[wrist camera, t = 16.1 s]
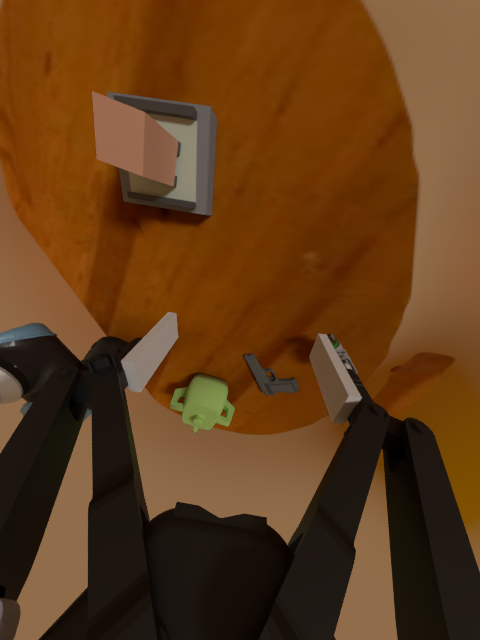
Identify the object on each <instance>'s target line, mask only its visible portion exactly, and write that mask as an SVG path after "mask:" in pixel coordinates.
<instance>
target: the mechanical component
mask: <svg viewBox="0 0 480 640" xmlns="http://www.w3.org/2000/svg"><path fill="white" fill-rule="evenodd" d="M330 335H331V336H329V335H327V336H328V338H329V340H330V342H331V343H332V345H333V347H334V349H335V351H336V352H337V354H338V356H339V358H340V360H341V361H342V363H343V365H344V367H345V368H348V369H351V370H353V371H354V372H355V373H356V374H357V373H358V372H357V370H356V368H355V367H354V365H353V363H352V362H351V359H350V357H349V356H348V354H347V352H346V351H345V349H343V347H342V345H341V344H340V342H339V341H338V339H337V338H334V336H333V335H332V334H330Z"/></svg>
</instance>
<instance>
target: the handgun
mask: <svg viewBox="0 0 480 640" xmlns="http://www.w3.org/2000/svg"><path fill="white" fill-rule="evenodd" d="M244 359H245V360H246V361H247V363H248V365H249V367H250V368H251V370H252V372H253V374H254V376H255V378H256V381H257V383H258V385H259V387H260V390H261V391H262V392H263V393H265V394H266V395H267V396H269V395H273V396H274V393H275V392H288V393H295V392H298V390H299V388H298V385H297V382H296V379H293V378H290V379H277V378H276V374H275V372H274V371H273V370H272V369H271V368H270V369H263V368H262V367H261V366H260V365H259V363H258V361H257V359H256V357H255V356H254V354H252V353H250V354H249V355H247V354H246V355H244ZM266 372H272V373H273V374H274V377H275V379H273V378H274V377H267V375H266ZM297 388H298V389H297Z"/></svg>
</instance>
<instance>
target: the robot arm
mask: <svg viewBox="0 0 480 640" xmlns="http://www.w3.org/2000/svg"><path fill="white" fill-rule="evenodd" d="M177 338H178V328H177V315H176V313H171V312H168V313H167V314H166V315H165V316H164V317H163V318H162V319H161V320H160V321H159V322H158V323H157V324H156V325H155V326H154V327H153V328H152V329H151V330H150V331H149V332H148V333H147V335H146V336H145V337H144V338H143V339H142V338H136V339H134V340H133V341H131V342H130V343H129V344H128V343H127V342H125V341H123V340H121V339H119V338H116V337H103V338H101V339H99V340H98V341H97V342H95V343H94V344H93V345H92V347H91V349H90V350H89V352H88V353H87V355H86V356H85V358H84V359H83V360H82V361H80V360H79V359H78V358H77V357H76V356H75V355H74V354H73V353H72V352H71V351H70V350H69V349H68V348H67V347H66V346H65V345H64V344H63V343H62V342H61V341H60V340H59V339H58V338H57V335H56V334H54V333H53V332H52V331H50V329H48V328H47V327H46V326H45V325H44V324H41V323H31V324H27V325H24V326H21V327H18V328H14V329H11V330H8V331H5V332H2V333H0V404H4V403H12V402H15V401H17V400H19V399H20V398H23V399H25V400H26V401H27V403H25V404H24V405H23V407H22V408H21V413H22V414H23V416H24V417H23V419H22V420H21V422H20V423H19V425H18V427H17V428H16V430H15V431H14V433H13V434H12V436H11V438H10V439H9V441H8V442H7V444H6V446H5V447H4V449H3V450H2V452H1V453H0V640H13V639H14V637H15V634H16V630H17V627H18V624H19V619H20V606H19V604H18V603H17V599H18V597H19V595H20V592H21V590H22V588H23V586H24V584H25V581H26V580H27V577H28V575H29V572H30V570H31V568H32V565H33V563H34V560H35V557H36V555H37V552H38V549H39V546H40V543H41V541H42V538H43V535H44V532H45V529H46V526H47V523H48V521H49V518H50V515H51V512H52V508H53V506H54V503H55V500H56V497H57V495H58V492H59V489H60V486H61V483H62V480H63V477H64V474H65V471H66V469H67V466H68V463H69V460H70V457H71V454H72V451H73V448H74V445H75V443H76V440H77V437H78V434H79V431H80V428H81V425H82V422H83V421H84V420H85V419H86V418H87V417H88V416H89V415H91V414H92V463H93V464H92V465H93V466H92V468H93V497H92V500H91V502H90V503H89V508H88V587H87V589H85V590H84V592H83V593H82V594H81V595H80V596H79V597H78V598H77V599H76V600H75V601H74V602H73V603H72V604H71V606H70V607H69V608H68V609H67V610H66V611H65V612H64V613H63V614H62V615H61V616H60V617H59V619H57V620H56V621H55V623H54V624H53V625H52V626H51V627H50V628H49V629H48V630H47V631H46V632H45V633H44V634H43V635H42V637H40V639H39V640H336V639H335V637H334V633H335V630H336V626H337V622H338V618H339V615H340V611H341V608H342V604H343V600H344V597H345V593H346V590H347V586H348V582H349V579H350V575H351V571H352V568H353V564H354V560H355V553H356V550H355V548H354V540H355V536H356V533H357V530H358V526H359V523H360V519H361V516H362V512H363V509H364V506H365V502H366V499H367V496H368V492H369V489H370V485H371V482H372V478H373V475H374V472H375V469H376V465H377V462H378V458H379V455H380V452H381V449H383V457H384V471H385V484H386V498H387V511H388V524H389V538H390V551H391V565H392V578H393V591H394V605H395V619H396V628H397V637H398V640H480V572H479V569H478V566H477V563H476V560H475V557H474V554H473V551H472V548H471V545H470V542H469V539H468V536H467V533H466V530H465V527H464V524H463V521H462V518H461V515H460V511H459V508H458V505H457V502H456V499H455V497H454V493H453V490H452V487H451V484H450V481H449V478H448V475H447V472H446V469H445V466H444V463H443V460H442V457H441V454H440V451H439V448H438V445H437V442H436V439H435V436H434V434H433V432H432V431H431V430H430V429H429V427H428V426H426V425H425V424H424V423H422V422H421V421H419V420H417V419H414V418H406V419H405V420H404V421H401V420H399V419H396V418H394V417H391V416H389V414H388V412H387V411H386V410H385V409H384V408H382V407H381V406H380V405H378V404H376V403H374V402H373V400H372V399H371V397H370V395H369V394H368V392H367V390H366V389H365V387H364V386H363V384H362V382H361V381H360V379H359V377H358V376H357V374H356V373H355V372H354V371H353V370H351V369H348V368H345V367H344V365H343V363H342V361H341V360H340V358H339V356H338V354H337V352H336V351H335V349H334V347H333V345H332V343H331V342H330V340H329V338H328V336H327V335H325V334H318V335H317V338H316V340H315V343H314V345H313V348H312V350H311V353H310V355H309V358H310V361H311V364H312V366H313V369H314V372H315V375H316V378H317V381H318V384H319V387H320V389H321V392H322V395H323V398H324V401H325V404H326V407H327V410H328V412H329V415H330V418H331V421H332V423H337V424H343V425H344V423H345V422H346V420H347V419H348V421H349V424H350V426H349V427H348V429H347V430H346V432H345V433H344V437H343V439H342V441H341V443H340V445H339V447H338V449H337V451H336V453H335V455H334V457H333V459H332V461H331V463H330V465H329V467H328V469H327V471H326V473H325V475H324V477H323V479H322V481H321V483H320V485H319V486H318V488H317V490H316V492H315V494H314V497H313V498H312V500H311V502H310V504H309V506H308V508H307V510H306V512H305V514H304V516H303V518H302V520H301V522H300V524H299V526H298V528H297V529H296V531H295V532H294V534H293V536H292V538H291V539H290V541H289V543H288V545H287V544H286V542H285V541H284V540H283V538H282V537H281V536H280V535H279V534H278V533H277V532H276V531H275V530H274V529H273V528H271V527H270V526H268V525H267V518H266V517H260V516H254V515H249V514H241V515H235V516H230V517H225V518H219V517H217V516H215V515H213V514H212V513H210V512H208V511H207V510H205V509H203V508H202V507H200V506H197V505H192V504H186V503H181V502H177V503H176V507H175V508H174V509H170V510H167V511H165V512H163V513H161V514H159V515H157V516H156V517H155V518H153V519H152V520H151V521H150V520H149V515H148V510H147V506H146V502H145V499H144V493H143V488H142V482H141V477H140V472H139V466H138V460H137V455H136V450H135V444H134V439H133V434H132V429H131V422H130V417H129V411H128V406H127V400H126V395H125V391H124V389H125V388H126V387H127V386H128V387H129V390H130V391H134V392H141V391H142V389H143V388H144V387H145V385H146V384H147V382H148V381H149V379H150V378H151V376H152V375H153V373H154V372H155V371H156V369H157V368H158V366H159V365H160V363H161V362H162V360H163V359H164V357H165V356H166V354H167V353H168V351H169V350H170V349H171V347H172V346H173V344H174V343H175V341H176V340H177Z"/></svg>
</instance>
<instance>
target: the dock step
mask: <svg viewBox="0 0 480 640" xmlns="http://www.w3.org/2000/svg"><path fill="white" fill-rule="evenodd" d="M107 97H108V98H111V99H113V100H116V101H118V102H121V103H123V104H126V105H128V106H131V107H133V108H136V109H139V110H141V111H144V112H145V113H147V114H148V115H149V116H150V117H151V118H152V119H154V120H155V121H156V122H157V123H158V124H159V125H160V126H162V127H163V128H164V129H165V130H166V131H167V132H169V133H170V134H171V135H172V136H173V137H174V138H176V139H177V140H178V141H179V142H180V143H181V149H180V156H178V155H177V160H176V169H175V176H177V184H176V187H173V186H170V185H167V184H164V183H161V182H158V181H155V180H152V179H149V178H145V177H142V176H140V175H137V174H135V173H132V172H129V171H127V170H124V169H121V168H119V167H118V168H119V175H120V181H121V188H122V194H123V201H124V202H129V203H135V204H141V205H147V206H154V207H160V208H166V209H172V210H178V211H184V212H190V213H196V214H202V215H212V202H213V184H214V165H215V146H216V128H217V118H216V116H215V114H214V112H213V110H212V108H211V106H204V105H197V104H190V103H183V102H176V101H169V100H162V99H155V98H148V97H141V96H134V95H126V94H119V93H112V92H107Z"/></svg>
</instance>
